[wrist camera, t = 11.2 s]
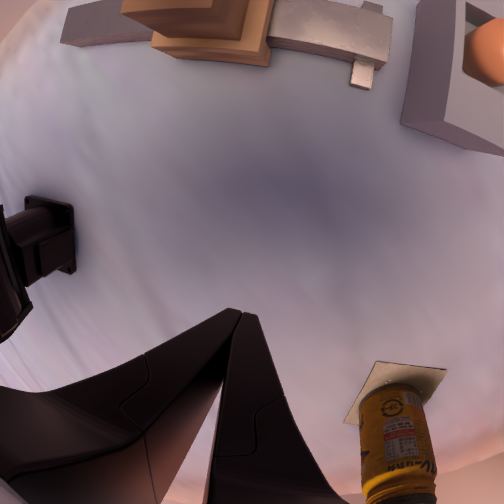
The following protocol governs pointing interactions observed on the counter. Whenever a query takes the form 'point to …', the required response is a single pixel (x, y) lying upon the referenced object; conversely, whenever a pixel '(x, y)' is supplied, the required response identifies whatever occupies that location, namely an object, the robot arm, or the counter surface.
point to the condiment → (396, 434)
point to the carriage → (206, 28)
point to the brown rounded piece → (485, 53)
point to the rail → (278, 35)
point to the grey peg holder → (452, 78)
